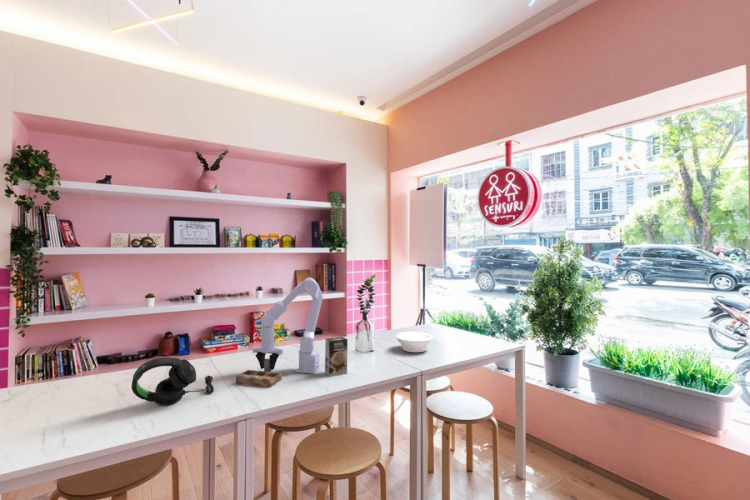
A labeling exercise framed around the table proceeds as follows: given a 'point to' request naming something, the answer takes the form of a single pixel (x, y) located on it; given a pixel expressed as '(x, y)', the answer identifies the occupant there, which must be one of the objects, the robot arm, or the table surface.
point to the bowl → (414, 341)
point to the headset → (169, 381)
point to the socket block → (258, 378)
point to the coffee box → (336, 356)
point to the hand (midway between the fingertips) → (267, 368)
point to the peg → (267, 365)
